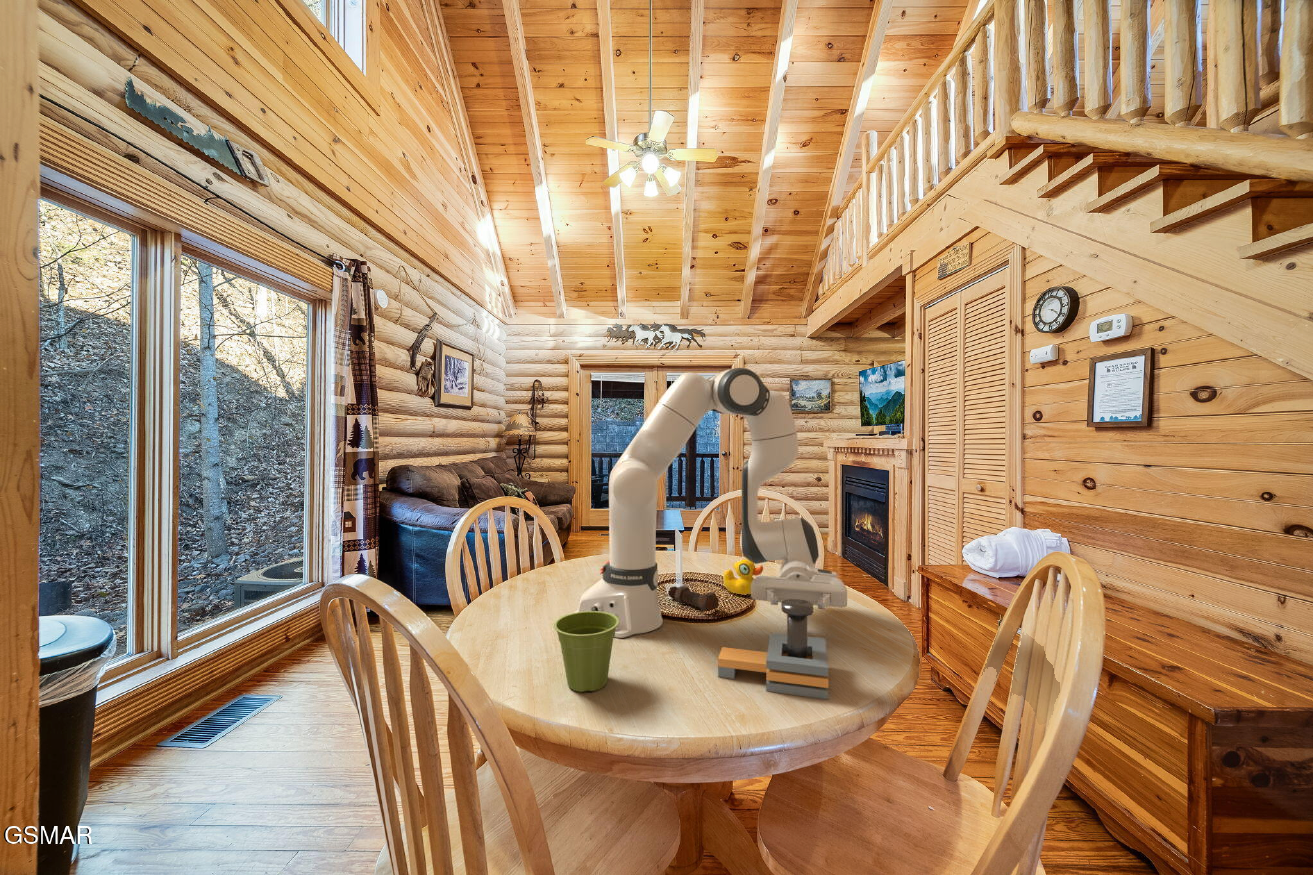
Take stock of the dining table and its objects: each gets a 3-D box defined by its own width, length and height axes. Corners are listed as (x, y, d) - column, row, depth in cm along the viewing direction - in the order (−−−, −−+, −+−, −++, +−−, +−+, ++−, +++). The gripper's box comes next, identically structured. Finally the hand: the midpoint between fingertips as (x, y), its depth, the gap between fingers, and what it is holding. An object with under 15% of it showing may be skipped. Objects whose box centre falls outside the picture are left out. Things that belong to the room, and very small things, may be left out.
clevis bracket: (715, 683, 91) (715, 654, 91) (725, 654, 103) (725, 627, 103) (828, 699, 85) (828, 667, 85) (825, 666, 97) (825, 638, 97)
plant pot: (627, 670, 96) (626, 612, 96) (607, 704, 85) (607, 638, 84) (569, 664, 99) (569, 607, 98) (543, 695, 87) (542, 631, 87)
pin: (780, 686, 90) (780, 608, 90) (781, 671, 95) (781, 597, 95) (813, 690, 88) (813, 611, 88) (812, 675, 94) (812, 600, 94)
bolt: (674, 604, 137) (714, 618, 126) (661, 599, 134) (701, 613, 123) (681, 584, 139) (721, 596, 128) (669, 578, 136) (709, 590, 125)
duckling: (765, 595, 139) (765, 559, 139) (760, 601, 134) (760, 564, 134) (727, 589, 144) (727, 554, 144) (720, 594, 140) (720, 558, 139)
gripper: (752, 566, 119) (746, 584, 106) (844, 572, 113) (849, 592, 100) (752, 592, 119) (746, 613, 106) (844, 600, 114) (849, 623, 100)
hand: (797, 603), depth 103 cm, fingers open, 8 cm apart
